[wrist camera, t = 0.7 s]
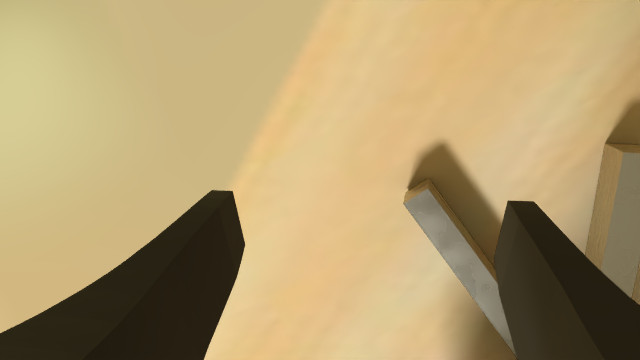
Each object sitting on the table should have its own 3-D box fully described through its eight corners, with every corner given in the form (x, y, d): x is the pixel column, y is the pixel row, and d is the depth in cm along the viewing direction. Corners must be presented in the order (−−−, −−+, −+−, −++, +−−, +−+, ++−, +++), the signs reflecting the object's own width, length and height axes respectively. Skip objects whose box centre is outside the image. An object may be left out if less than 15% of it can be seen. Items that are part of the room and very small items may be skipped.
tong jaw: (578, 371, 30) (591, 399, 27) (540, 386, 31) (549, 414, 28) (434, 173, 29) (434, 184, 26) (399, 196, 30) (396, 208, 27)
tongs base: (591, 388, 30) (610, 428, 27) (519, 376, 31) (529, 414, 28) (639, 144, 25) (670, 157, 22) (553, 141, 26) (570, 153, 23)
